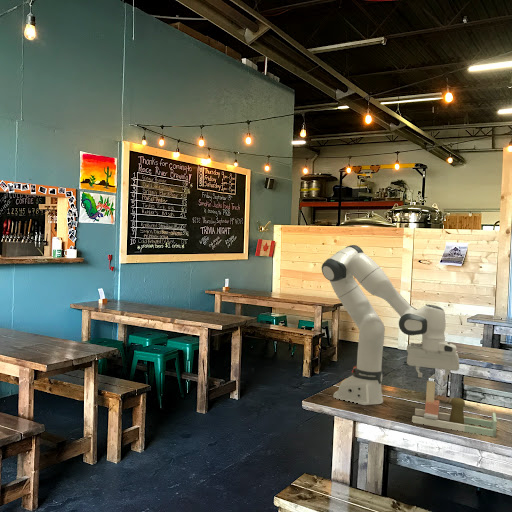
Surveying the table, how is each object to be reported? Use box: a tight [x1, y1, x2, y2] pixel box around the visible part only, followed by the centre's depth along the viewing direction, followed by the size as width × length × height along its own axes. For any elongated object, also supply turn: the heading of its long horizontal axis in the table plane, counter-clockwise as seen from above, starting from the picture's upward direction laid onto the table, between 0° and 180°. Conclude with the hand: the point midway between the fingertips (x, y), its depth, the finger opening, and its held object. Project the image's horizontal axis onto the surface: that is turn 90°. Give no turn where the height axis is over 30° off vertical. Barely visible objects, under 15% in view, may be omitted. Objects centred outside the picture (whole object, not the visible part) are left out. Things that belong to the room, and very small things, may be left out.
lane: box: [411, 407, 498, 438], centre depth 201 cm, size 30×12×6 cm, turn 67°
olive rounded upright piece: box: [448, 397, 466, 425], centre depth 200 cm, size 6×6×11 cm
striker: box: [423, 380, 441, 420], centre depth 204 cm, size 5×13×16 cm, turn 156°
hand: (432, 378), depth 204 cm, fingers open, 8 cm apart
